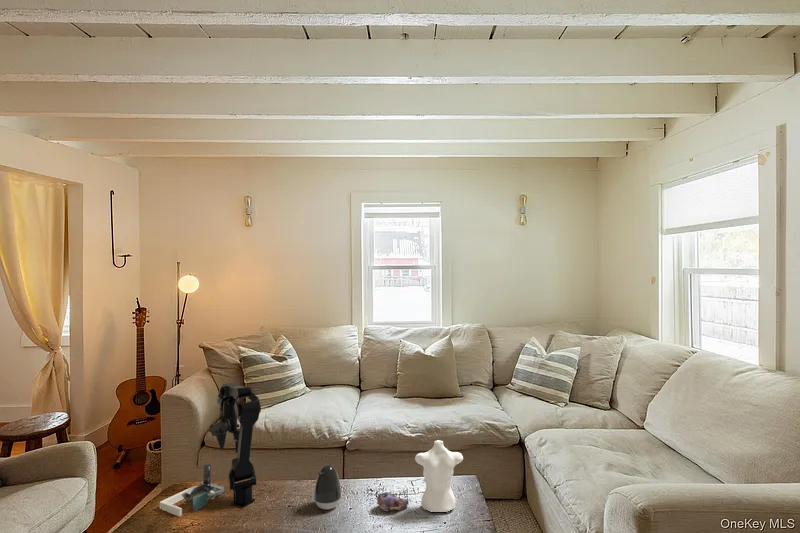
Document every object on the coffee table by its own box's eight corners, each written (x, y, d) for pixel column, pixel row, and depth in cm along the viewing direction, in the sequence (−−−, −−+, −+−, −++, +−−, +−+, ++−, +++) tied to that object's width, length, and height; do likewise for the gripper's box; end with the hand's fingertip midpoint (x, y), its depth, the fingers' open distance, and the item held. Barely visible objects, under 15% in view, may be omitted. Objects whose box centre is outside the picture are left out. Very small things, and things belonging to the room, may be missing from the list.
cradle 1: (218, 490, 175) (219, 483, 175) (208, 496, 171) (208, 488, 171) (215, 489, 176) (215, 482, 176) (205, 494, 172) (205, 487, 172)
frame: (214, 498, 169) (214, 491, 170) (179, 516, 156) (179, 509, 156) (195, 491, 175) (195, 485, 175) (159, 508, 161) (159, 501, 162)
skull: (407, 503, 167) (407, 487, 167) (410, 514, 159) (410, 497, 159) (376, 505, 165) (376, 488, 165) (377, 515, 158) (377, 498, 158)
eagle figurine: (196, 508, 160) (215, 493, 168) (186, 491, 161) (206, 476, 169) (185, 514, 163) (205, 499, 171) (176, 498, 164) (196, 483, 172)
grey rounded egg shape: (307, 509, 162) (308, 467, 162) (324, 497, 171) (325, 457, 171) (329, 516, 157) (330, 473, 157) (346, 503, 166) (346, 462, 167)
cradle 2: (225, 492, 174) (225, 485, 174) (214, 498, 170) (214, 490, 170) (221, 491, 175) (221, 484, 175) (211, 496, 170) (211, 489, 171)
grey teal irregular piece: (226, 494, 172) (227, 469, 172) (195, 510, 160) (196, 483, 160) (204, 487, 178) (205, 462, 178) (173, 502, 166) (173, 476, 166)
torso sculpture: (459, 500, 169) (459, 434, 170) (465, 513, 159) (465, 444, 160) (412, 501, 167) (413, 435, 168) (415, 515, 158) (416, 445, 158)
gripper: (198, 415, 181) (197, 453, 181) (230, 422, 172) (229, 462, 172) (220, 408, 191) (220, 444, 190) (251, 414, 182) (251, 452, 182)
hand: (229, 450), depth 183 cm, fingers open, 9 cm apart
